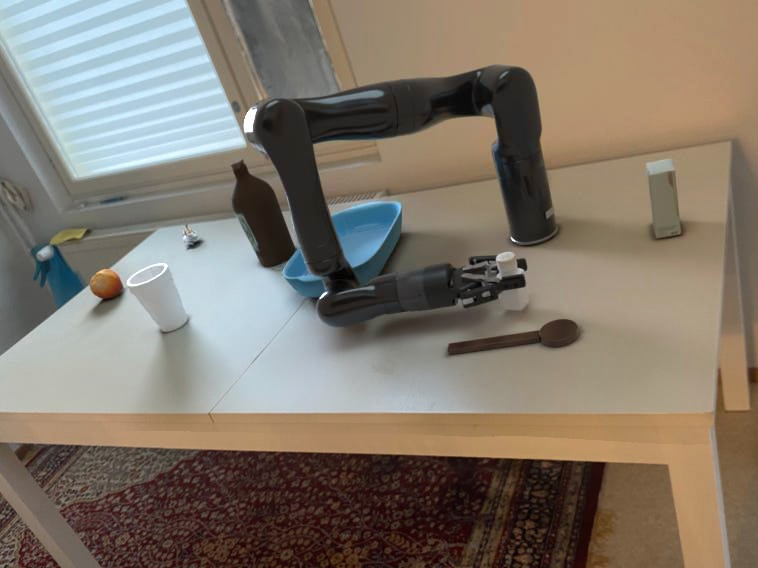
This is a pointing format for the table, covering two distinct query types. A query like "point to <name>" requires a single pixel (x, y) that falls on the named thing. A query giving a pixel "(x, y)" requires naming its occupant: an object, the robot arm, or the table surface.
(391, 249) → the casserole dish
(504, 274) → the salt shaker
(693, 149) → the table surface
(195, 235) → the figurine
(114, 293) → the fruit
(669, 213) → the cosmetic box
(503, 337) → the wooden spoon
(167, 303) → the foam cup
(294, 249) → the olive oil
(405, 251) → the table surface
